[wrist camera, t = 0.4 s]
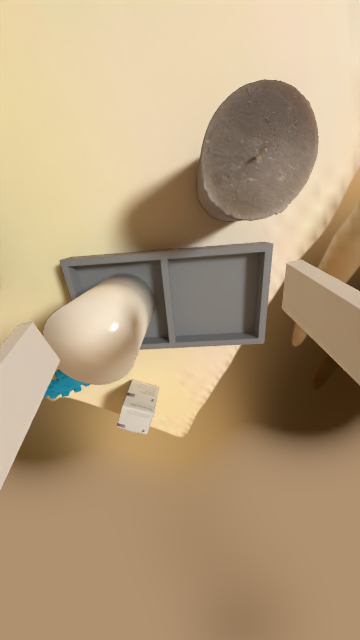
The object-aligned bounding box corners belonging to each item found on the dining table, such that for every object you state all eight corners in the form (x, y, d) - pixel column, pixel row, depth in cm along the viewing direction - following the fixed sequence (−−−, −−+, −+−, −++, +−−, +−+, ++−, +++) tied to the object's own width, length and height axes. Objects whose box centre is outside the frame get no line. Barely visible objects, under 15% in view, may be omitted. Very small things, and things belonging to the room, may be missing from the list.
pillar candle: (238, 121, 27) (286, 20, 14) (279, 187, 30) (352, 157, 16) (181, 181, 30) (174, 146, 17) (223, 236, 33) (246, 245, 19)
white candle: (90, 275, 35) (29, 307, 21) (151, 271, 34) (127, 300, 21) (104, 329, 39) (59, 386, 25) (158, 326, 38) (142, 383, 25)
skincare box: (159, 385, 45) (154, 413, 39) (152, 406, 48) (147, 436, 41) (131, 378, 45) (121, 405, 38) (126, 399, 47) (115, 428, 40)
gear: (73, 400, 45) (25, 402, 37) (66, 376, 48) (20, 373, 39) (112, 370, 44) (71, 365, 35) (102, 347, 47) (62, 337, 38)
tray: (71, 257, 35) (59, 260, 32) (264, 241, 33) (273, 243, 30) (94, 342, 41) (86, 352, 38) (257, 333, 39) (263, 343, 36)
